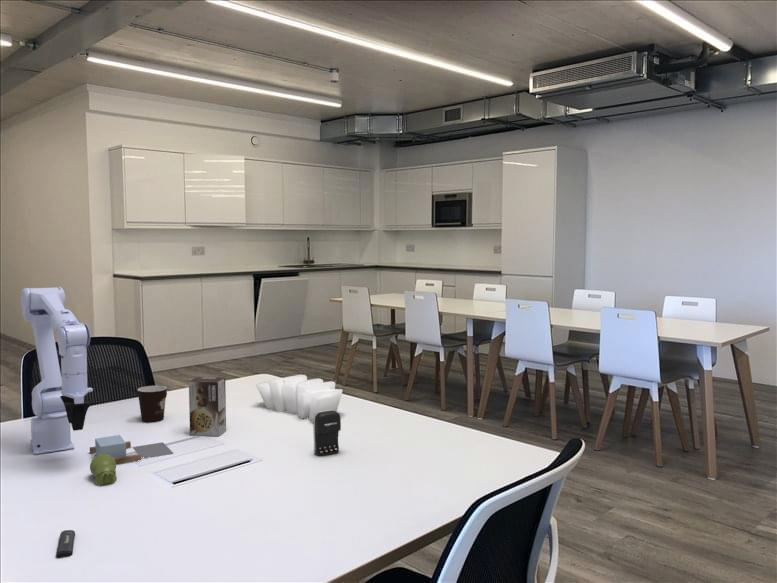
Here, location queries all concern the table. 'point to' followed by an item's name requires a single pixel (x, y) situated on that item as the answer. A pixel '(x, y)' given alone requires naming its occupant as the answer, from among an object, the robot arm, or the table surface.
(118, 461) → the chute
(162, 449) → the mat
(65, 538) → the usb stick
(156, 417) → the coffee mug
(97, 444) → the block
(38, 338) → the robot arm
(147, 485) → the table surface
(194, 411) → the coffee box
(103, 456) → the pear
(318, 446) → the battery charger
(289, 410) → the white wavy slab sculpture
